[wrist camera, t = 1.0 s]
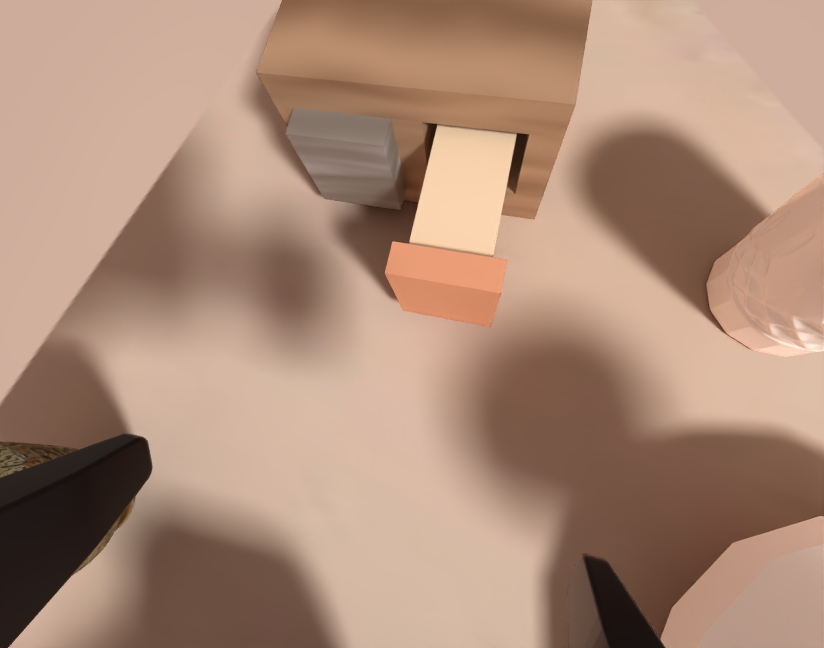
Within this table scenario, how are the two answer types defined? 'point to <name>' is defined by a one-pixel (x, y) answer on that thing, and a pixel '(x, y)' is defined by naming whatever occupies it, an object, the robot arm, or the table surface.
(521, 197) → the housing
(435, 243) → the plug
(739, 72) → the table surface
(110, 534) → the cup
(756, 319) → the white cup
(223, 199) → the table surface
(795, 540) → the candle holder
